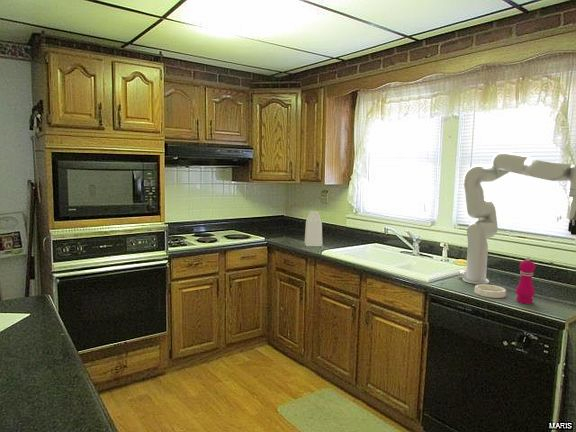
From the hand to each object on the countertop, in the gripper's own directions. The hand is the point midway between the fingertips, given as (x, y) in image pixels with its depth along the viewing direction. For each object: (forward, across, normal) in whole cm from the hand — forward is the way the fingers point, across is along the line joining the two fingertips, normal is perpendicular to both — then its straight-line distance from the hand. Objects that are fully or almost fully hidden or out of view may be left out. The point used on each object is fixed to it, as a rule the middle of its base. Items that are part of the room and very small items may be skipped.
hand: (573, 233), depth 177 cm
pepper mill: (+31, +8, -16) cm, 36 cm away
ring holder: (+31, +3, -30) cm, 44 cm away
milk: (+33, -58, -151) cm, 165 cm away
